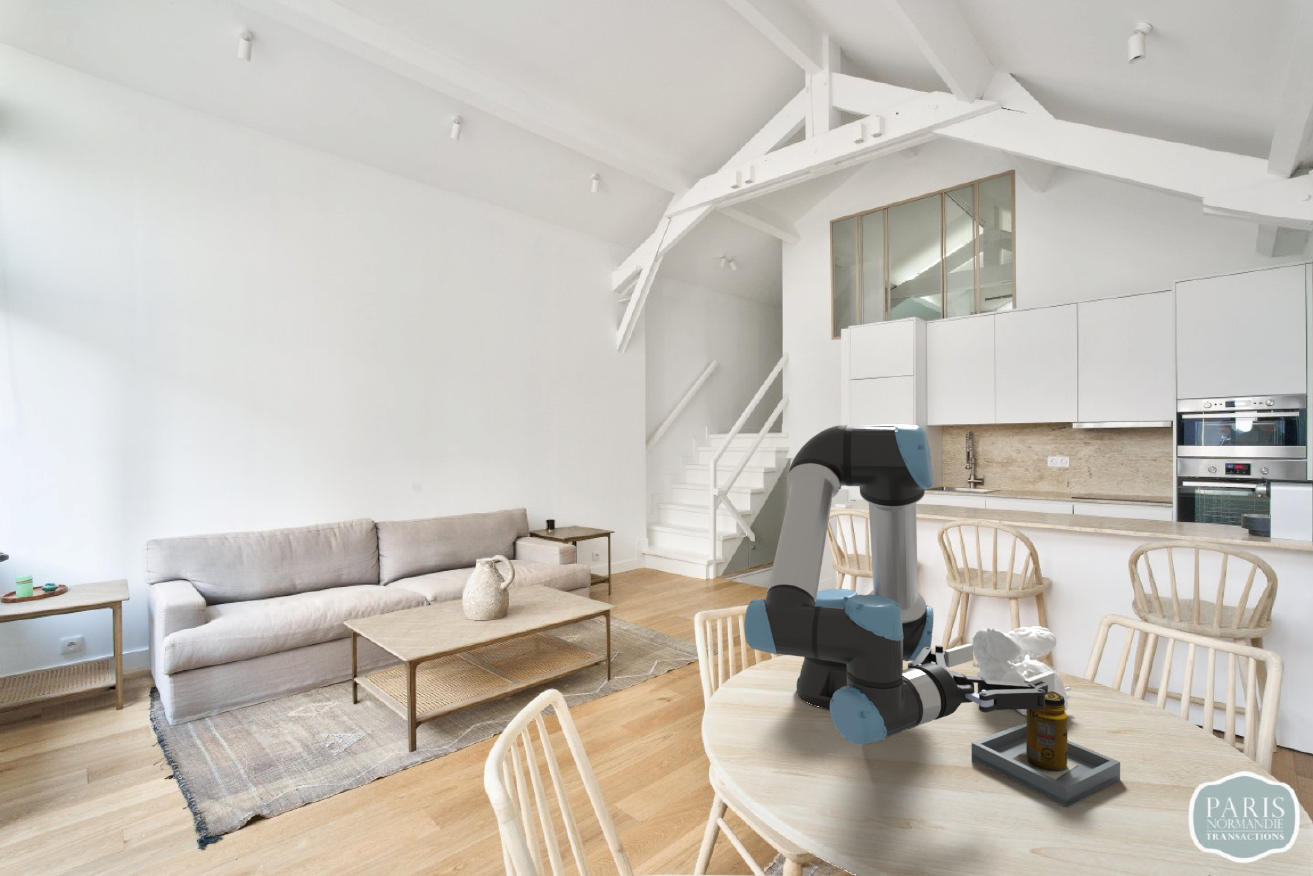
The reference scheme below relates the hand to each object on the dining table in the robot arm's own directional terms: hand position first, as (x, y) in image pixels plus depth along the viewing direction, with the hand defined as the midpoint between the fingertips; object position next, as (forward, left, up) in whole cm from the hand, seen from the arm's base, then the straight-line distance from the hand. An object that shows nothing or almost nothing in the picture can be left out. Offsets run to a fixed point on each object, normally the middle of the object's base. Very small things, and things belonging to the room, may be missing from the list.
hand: (1009, 665), depth 101 cm
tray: (-1, +10, -20) cm, 23 cm away
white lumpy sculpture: (-20, +34, -20) cm, 44 cm away
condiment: (-1, +10, -19) cm, 22 cm away
